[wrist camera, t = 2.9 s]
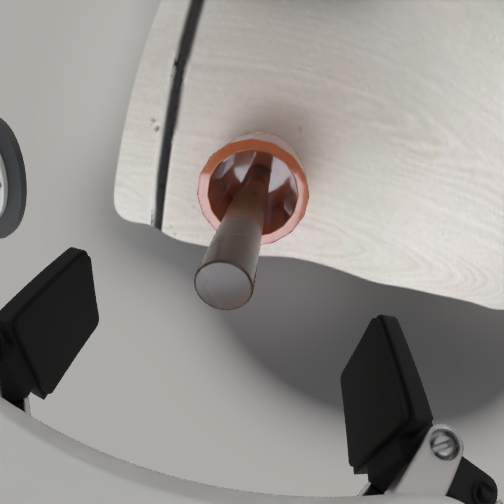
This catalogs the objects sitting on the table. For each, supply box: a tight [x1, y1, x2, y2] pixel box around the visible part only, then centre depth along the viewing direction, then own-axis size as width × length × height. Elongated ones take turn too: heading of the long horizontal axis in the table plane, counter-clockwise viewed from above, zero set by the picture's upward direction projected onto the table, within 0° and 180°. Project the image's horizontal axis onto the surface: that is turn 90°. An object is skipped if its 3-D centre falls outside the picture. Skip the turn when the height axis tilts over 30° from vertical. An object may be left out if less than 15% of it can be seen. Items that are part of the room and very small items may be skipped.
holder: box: [197, 132, 309, 245], centre depth 24 cm, size 8×8×7 cm
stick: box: [194, 164, 271, 310], centre depth 19 cm, size 2×2×18 cm
